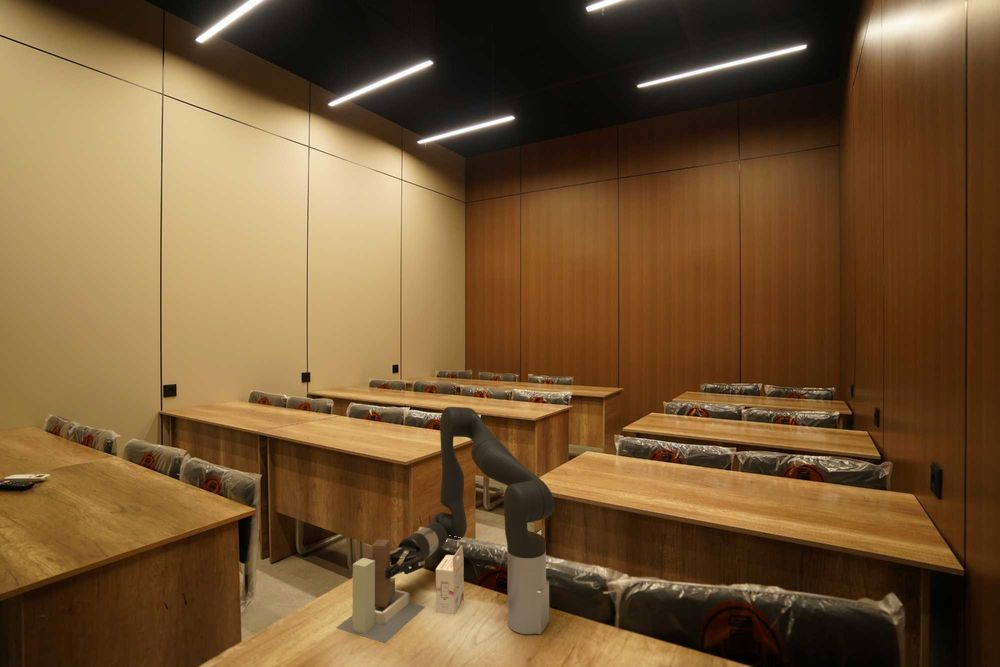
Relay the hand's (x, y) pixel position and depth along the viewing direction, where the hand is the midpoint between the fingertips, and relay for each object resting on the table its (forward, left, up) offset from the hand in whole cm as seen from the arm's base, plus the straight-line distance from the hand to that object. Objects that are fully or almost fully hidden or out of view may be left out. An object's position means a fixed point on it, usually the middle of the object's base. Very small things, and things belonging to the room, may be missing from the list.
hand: (378, 573), depth 115 cm
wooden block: (+1, -3, -8) cm, 9 cm away
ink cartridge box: (-13, -12, -12) cm, 21 cm away
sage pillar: (0, +5, -10) cm, 12 cm away
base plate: (-1, 0, -12) cm, 12 cm away
